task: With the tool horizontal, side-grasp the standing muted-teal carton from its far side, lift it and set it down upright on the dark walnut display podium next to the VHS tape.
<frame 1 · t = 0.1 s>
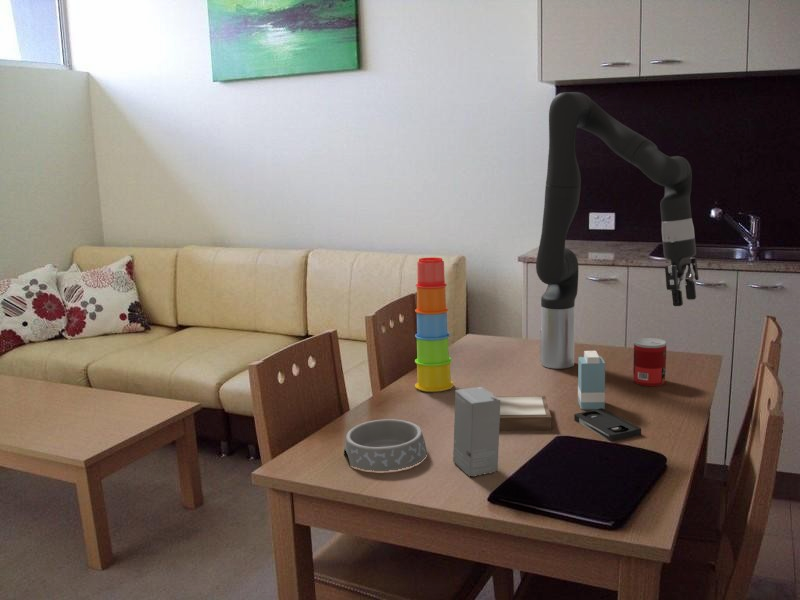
hand: (684, 302, 190), 22 cm above the table, tool pointing down, fingers open, 8 cm apart
vhs tape: (606, 430, 172), on the table
canned food: (649, 382, 201), on the table
skincare box: (477, 468, 155), on the table
carton: (591, 405, 186), on the table
dog bowl: (385, 456, 163), on the table
stacking cups: (434, 387, 204), on the table
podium: (517, 418, 180), on the table
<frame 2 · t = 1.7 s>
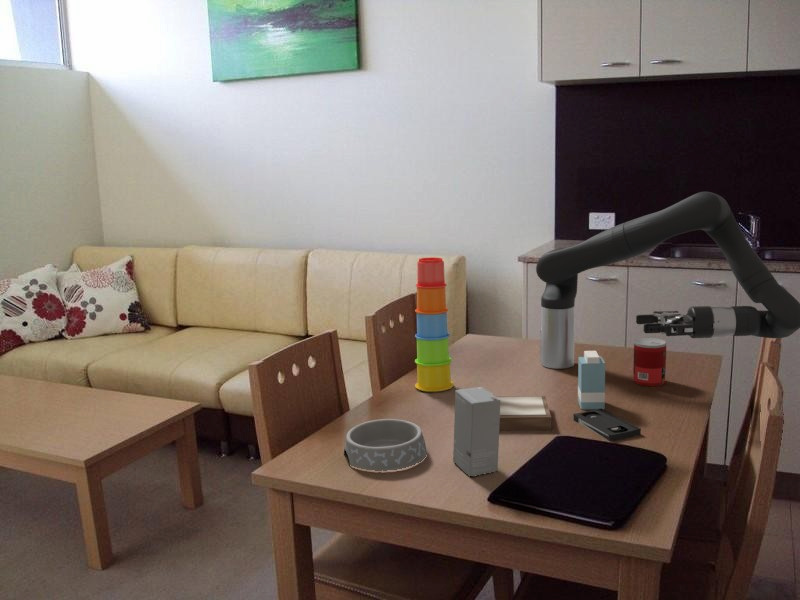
hand: (639, 323, 180), 20 cm above the table, tool horizontal, fingers open, 8 cm apart
nothing on the table moved.
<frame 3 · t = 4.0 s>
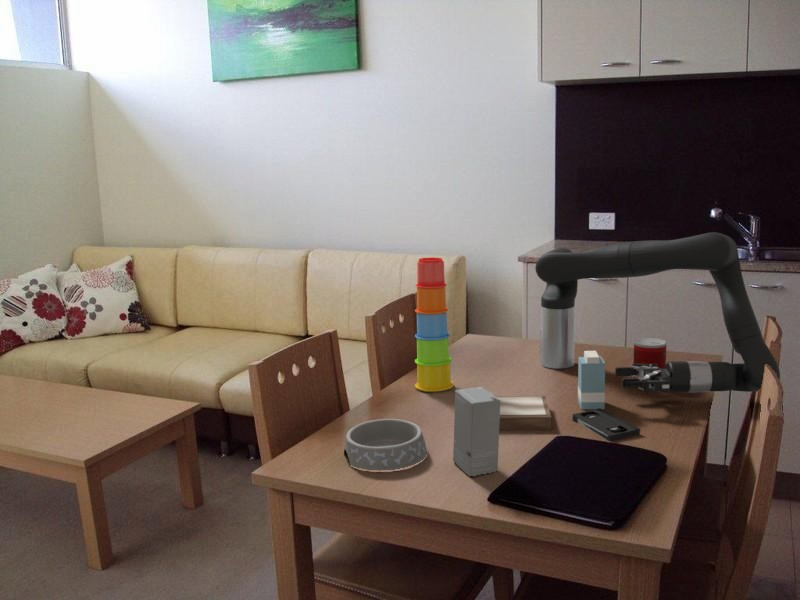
hand: (618, 377, 184), 7 cm above the table, tool horizontal, fingers open, 8 cm apart
nothing on the table moved.
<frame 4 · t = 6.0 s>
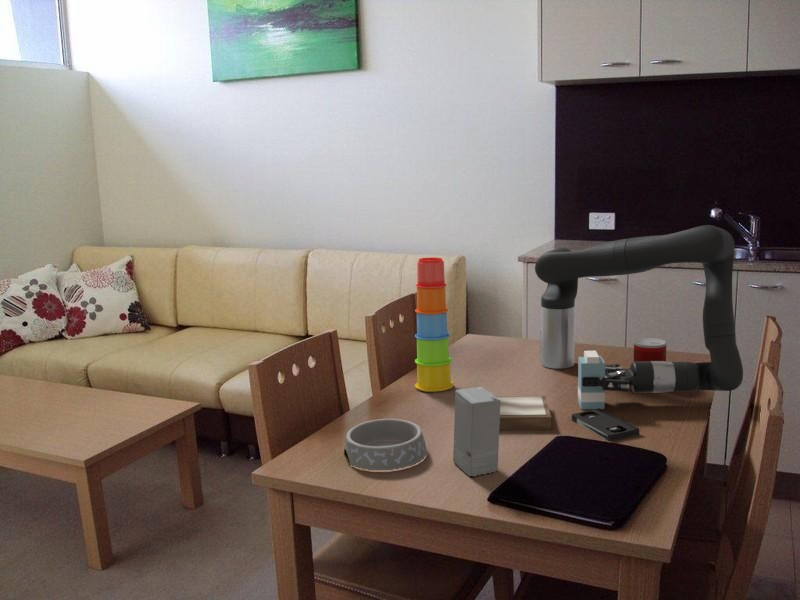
hand: (580, 377, 185), 7 cm above the table, tool horizontal, fingers closed on carton, 5 cm apart
carton: (591, 405, 186), on the table, touching gripper
everything else where it was.
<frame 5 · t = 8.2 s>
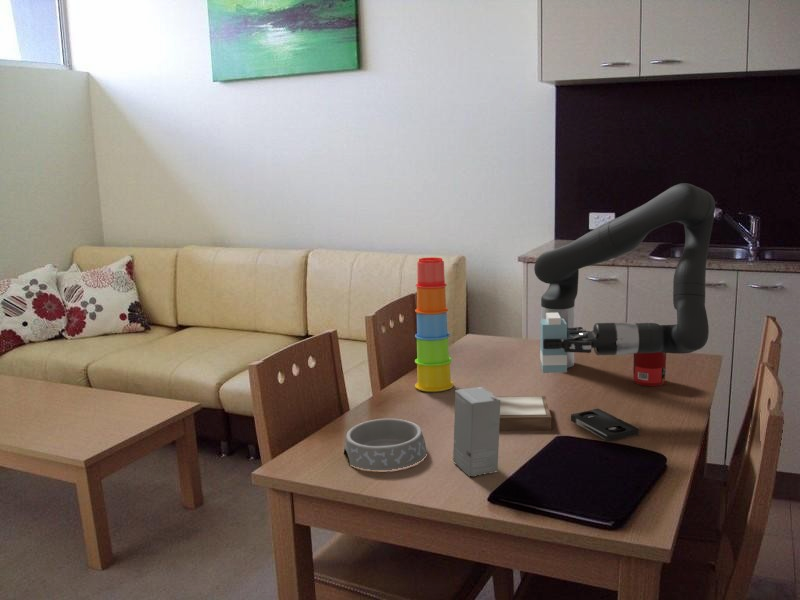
hand: (542, 340, 179), 18 cm above the table, tool horizontal, fingers closed on carton, 5 cm apart
carton: (553, 369, 180), point 11 cm above the table, touching gripper
everything else where it was.
when the fingers open (11 cm above the table, at t = 10.5 s): carton drops 1 cm, resting on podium.
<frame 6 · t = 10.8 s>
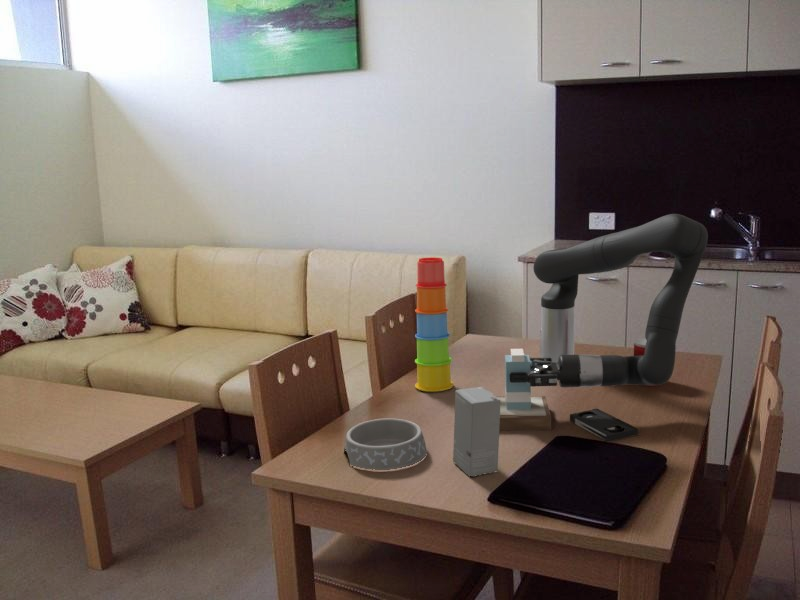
hand: (508, 371, 177), 12 cm above the table, tool horizontal, fingers open, 8 cm apart
carton: (517, 405, 179), point 3 cm above the table, touching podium
everything else where it was.
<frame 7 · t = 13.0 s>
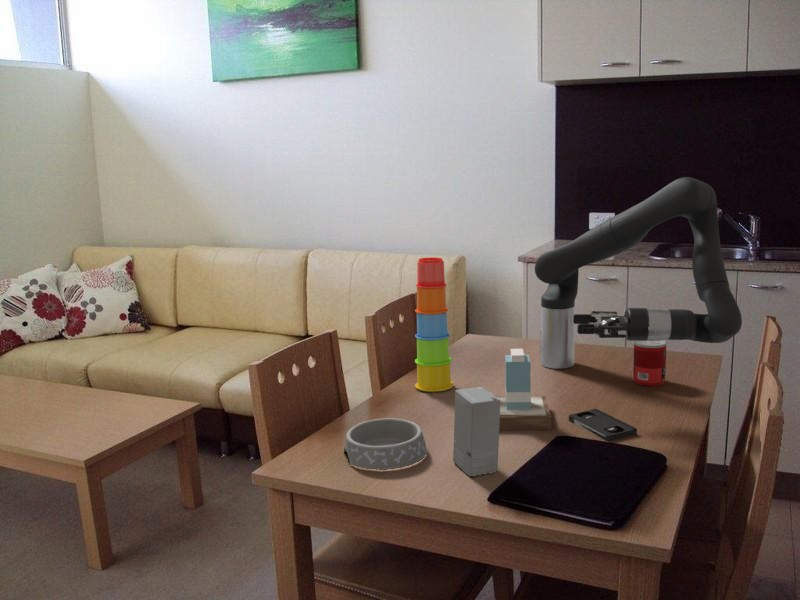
hand: (575, 323, 177), 22 cm above the table, tool horizontal, fingers open, 8 cm apart
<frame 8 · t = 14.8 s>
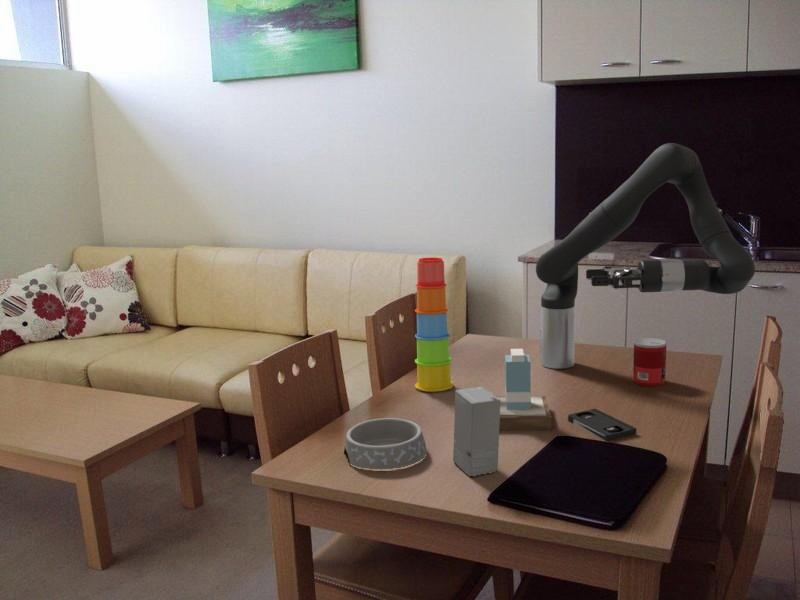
hand: (588, 277, 177), 32 cm above the table, tool horizontal, fingers open, 8 cm apart
at the end: carton inside the target area on the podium (0.1 cm from its centre), point 3.2 cm above the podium's base; carton tilted 0°; the gripper is holding nothing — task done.
